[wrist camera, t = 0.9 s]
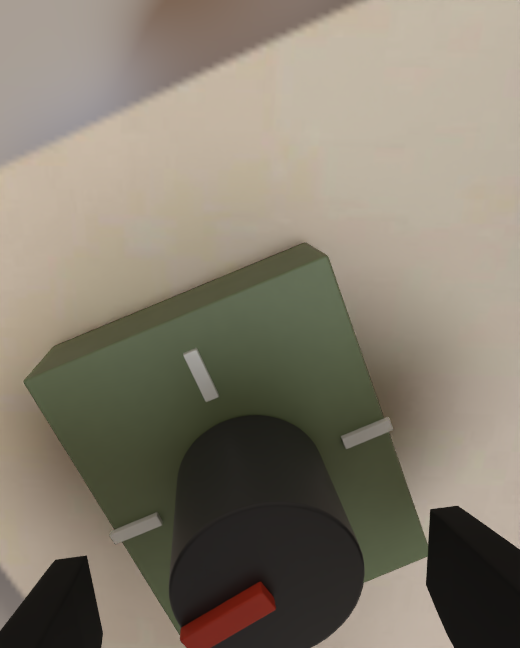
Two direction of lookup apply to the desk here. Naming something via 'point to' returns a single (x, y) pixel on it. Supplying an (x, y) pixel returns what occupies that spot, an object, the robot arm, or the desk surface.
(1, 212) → the desk surface
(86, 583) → the robot arm
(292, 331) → the panel
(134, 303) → the desk surface
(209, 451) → the timer dial
